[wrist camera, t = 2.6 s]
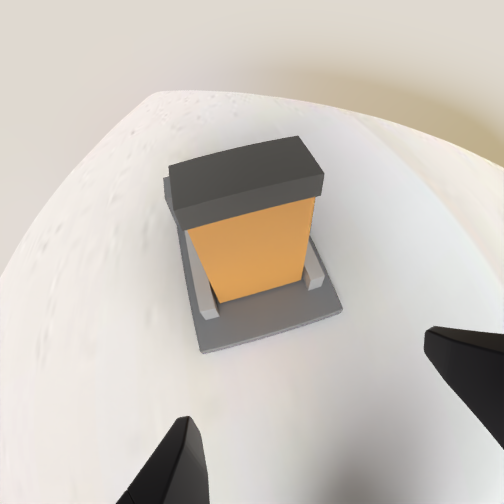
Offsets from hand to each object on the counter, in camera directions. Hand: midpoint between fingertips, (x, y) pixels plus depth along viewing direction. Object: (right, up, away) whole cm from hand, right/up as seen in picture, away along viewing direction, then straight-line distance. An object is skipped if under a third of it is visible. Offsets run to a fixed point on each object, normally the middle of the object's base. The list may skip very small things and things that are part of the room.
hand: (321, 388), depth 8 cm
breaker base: (-3, +4, +19) cm, 19 cm away
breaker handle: (-2, +2, +16) cm, 16 cm away
